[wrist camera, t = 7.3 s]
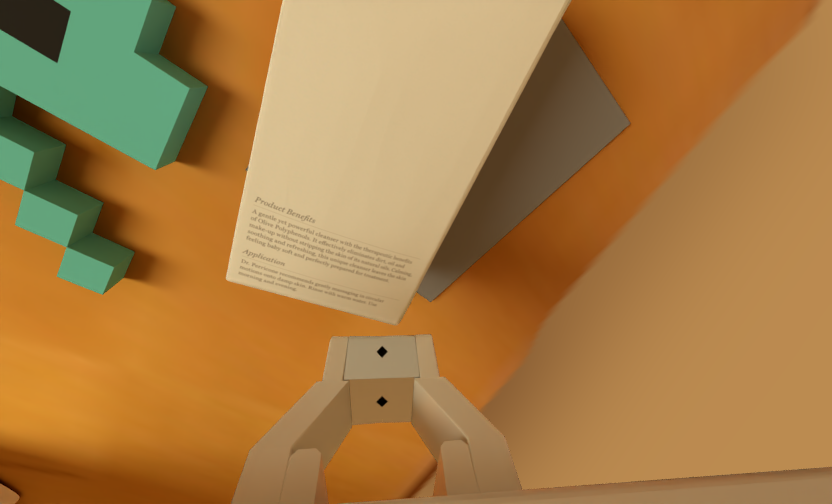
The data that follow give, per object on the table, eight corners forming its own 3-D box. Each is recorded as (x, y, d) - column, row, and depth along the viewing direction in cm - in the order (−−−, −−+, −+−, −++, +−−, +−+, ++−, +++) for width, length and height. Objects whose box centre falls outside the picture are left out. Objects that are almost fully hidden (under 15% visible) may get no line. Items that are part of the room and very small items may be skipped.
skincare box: (393, 265, 21) (527, -4, 15) (399, 337, 16) (618, -50, 9) (259, 219, 19) (354, -122, 13) (208, 284, 13) (335, -280, 7)
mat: (430, 299, 23) (430, 302, 23) (247, 168, 18) (245, 169, 18) (626, 122, 19) (630, 123, 18) (459, -131, 13) (461, -135, 13)
